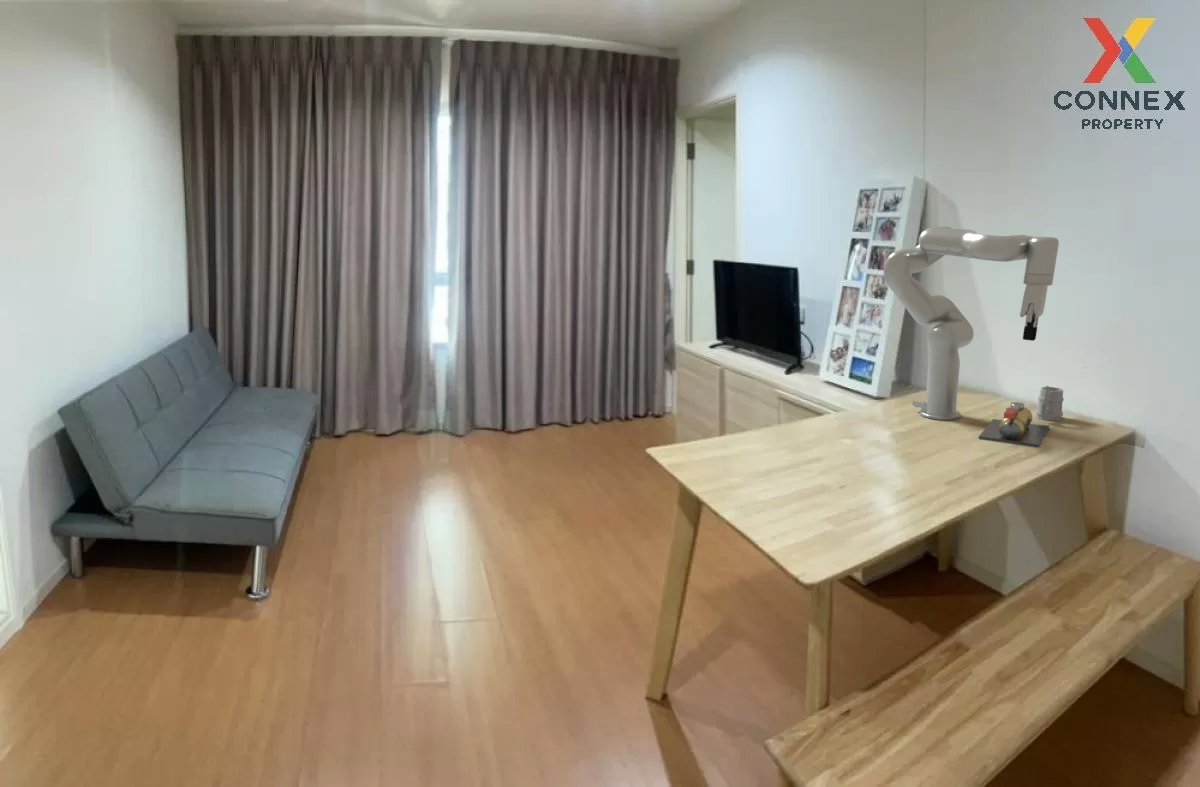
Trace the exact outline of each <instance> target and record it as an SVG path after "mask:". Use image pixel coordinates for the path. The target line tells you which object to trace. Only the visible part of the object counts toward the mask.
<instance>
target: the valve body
mask: <svg viewBox="0 0 1200 787" xmlns="http://www.w3.org/2000/svg"><path fill="white" fill-rule="evenodd" d="M1008 408H1009V407H1006V408H1005V411H1006V410H1007V409H1008ZM1032 421H1033V414H1032V412H1031V410H1029V409H1028V408H1027V407H1025V406H1024V410H1019V411H1018V412H1017V414H1016V415H1015V416H1014V417H1013V418H1012V419H1009V418H1003V419H997V418H993V419H992V420H991V421H990V422H989V423H988V425H987V426H986V427H985V428H984V429H983V431H982V432H981V433H980V434H979V435H978V439H979V440H985V441H986V440H987V441H991V440H992V442H993V441H994V442H1000V443H1006V444H1014V445H1021V446H1027V447H1036V448H1040V446H1041V444H1042V442H1043V441H1044V438H1045V437H1046V436H1047V433H1048V432H1049V430H1050V425H1043V424H1035V423H1032Z"/></svg>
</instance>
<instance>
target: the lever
mask: <svg viewBox="0 0 1200 787" xmlns="http://www.w3.org/2000/svg"><path fill="white" fill-rule="evenodd" d="M1024 407H1025V403H1023V402H1017V401H1014V402H1010V407H1007V408H1008V409H1007V410H1006V409H1005V412H1004V413H1003V419H1005V418H1009V419H1012V418H1013V417H1014V416H1015V415H1016V414H1017V412H1018V411H1019V410H1024Z"/></svg>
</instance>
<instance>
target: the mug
mask: <svg viewBox="0 0 1200 787" xmlns="http://www.w3.org/2000/svg"><path fill="white" fill-rule="evenodd" d="M1039 391H1040V392H1039V395H1038V398H1037V399H1038V403H1037V409H1036V410H1035V414H1036V418H1037V419H1039V420H1042V421H1049V422H1051V421H1052V422H1054V421H1055V422H1056V421H1061V420H1062V417H1063V415H1064V413H1063V402H1064V397H1063V396H1064V390H1063V388H1060V387H1055V386H1054V387H1053V386H1049V385H1045V386H1043V387H1040V390H1039Z"/></svg>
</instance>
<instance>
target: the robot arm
mask: <svg viewBox="0 0 1200 787" xmlns="http://www.w3.org/2000/svg"><path fill="white" fill-rule="evenodd" d="M1059 246H1060V243H1059V239H1058V238H1057V237H1052V236H1033V235H1032V236H1031V235H1026V234H1014V235H991V234H982V233H977V232H976V231H975V230H973V229H966V228H965V229H961V228H960V229H959V228H952V227H950V226H933V227H929V228H926V229H924V230H923V231H922V232H921V233H920V235H919V237H918V245H916V246H915V247H912V248H903V249H898V250H896V251H893V252H892V253H891V254H889V255H888V257H887V258H886V260H885V263H884V266H883V276H884V277H883V278H884V280H885V283H886V284H887V286H888V287H889V289H890V291H892V293H893V294H894V295H895V297H896V298H897V299H898V300H899V302H900V303H901V305H902V306H903V307H904V308H905V310H906V311H907V312H908V313H909V315H910V316H911V317H912V319H913V320H914V321H915V322H916V323H917V324H918V325H920V326H932V325H934V327H932V329H930V331H929V333H928V335H927V341H926V342H927V350H928V351H927V352H928V366H927V376H926V377H927V380H926V391H925V392H926V394H925V396H926V397H925V400H922V401H920V400H915V399H913V400H912V406H913V407H914V408H921V409H920V410H919V415H921V417H924V418H927V419H932V420H941V421H949V420H950V421H953V420H958V419H960V418H961V416H962V413H961V412H960V411H959V410H957V405H958V404H957V403H958V394H959V393H958V390H959V378H960V360H961V359H960V354H959V349H962V348H965V347H966V346H968V345H969V344H971V342H972V341H973V339H974V336H975V335H974V334H975V332H974V329H973V326H972V324H971V323H970V322H969V320H968V319H967V318H966V317H965V315H964V314H963V313H962V312H961V310H960V309H959V308H958V307H957V306H956V304H955V303H954V302H953V301H952V300H951V299H950V298H948V297H947V296H944V295H937V294H935V295H931V294H930V293H929V292H928V290H926V288H925V287H924V285H923V284H922V283H921V282H920V281H918V280H917V278H915V277H913V275H912V274H916V273H920V272H923V271H925V270H927V269H928V268H930V267H932V265H934V264H935V263H936V262H938V261H939V260H941V259H942V258H943V257H945V256H951V257H952V256H953V257H962V258H968V259H975V260H982V261H983V260H984V261H992V262H1004V263H1008V262H1013V261H1021V260H1026V262H1025V263H1026V264H1025V268H1024V274H1023V275H1024V277H1023V283H1022V284H1023V285H1026V286H1025V289H1024V293H1023V296H1022V297H1023V298H1022V302H1021V308H1020V313H1019V316H1020V318H1023V317H1025V321H1024V322H1025V323H1024V326H1023V334H1022V340H1023V341H1024V340H1025V341H1035V340H1036V338H1037V332H1038V323H1039V318H1040V317H1041V316H1042V315H1043V314H1044V312H1045V311H1044V310H1045V306H1046V300H1047V295H1048V294H1047V293H1048V286H1050V287H1051V286H1053V282H1054V275H1055V269H1056V263H1057V258H1058V250H1059Z"/></svg>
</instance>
